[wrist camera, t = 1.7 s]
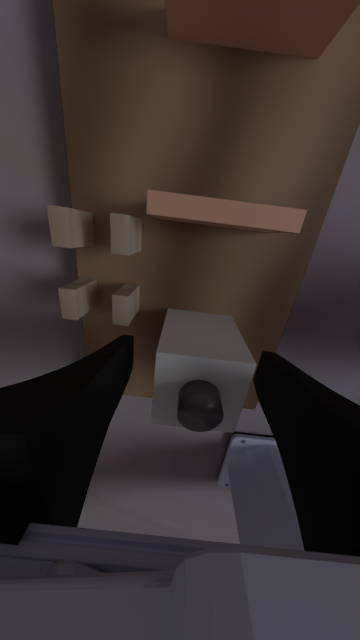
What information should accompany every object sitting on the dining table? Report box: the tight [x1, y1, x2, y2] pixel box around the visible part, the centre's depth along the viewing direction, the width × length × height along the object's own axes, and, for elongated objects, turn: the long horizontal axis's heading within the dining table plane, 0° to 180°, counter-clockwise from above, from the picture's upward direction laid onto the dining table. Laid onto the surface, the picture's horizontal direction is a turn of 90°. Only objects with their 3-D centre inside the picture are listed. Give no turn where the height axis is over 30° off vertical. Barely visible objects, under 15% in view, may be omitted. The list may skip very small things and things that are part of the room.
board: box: [47, 0, 360, 409], centre depth 11 cm, size 13×21×4 cm, turn 173°
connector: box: [151, 308, 257, 433], centre depth 10 cm, size 4×4×6 cm
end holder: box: [147, 0, 360, 233], centre depth 8 cm, size 6×7×3 cm
